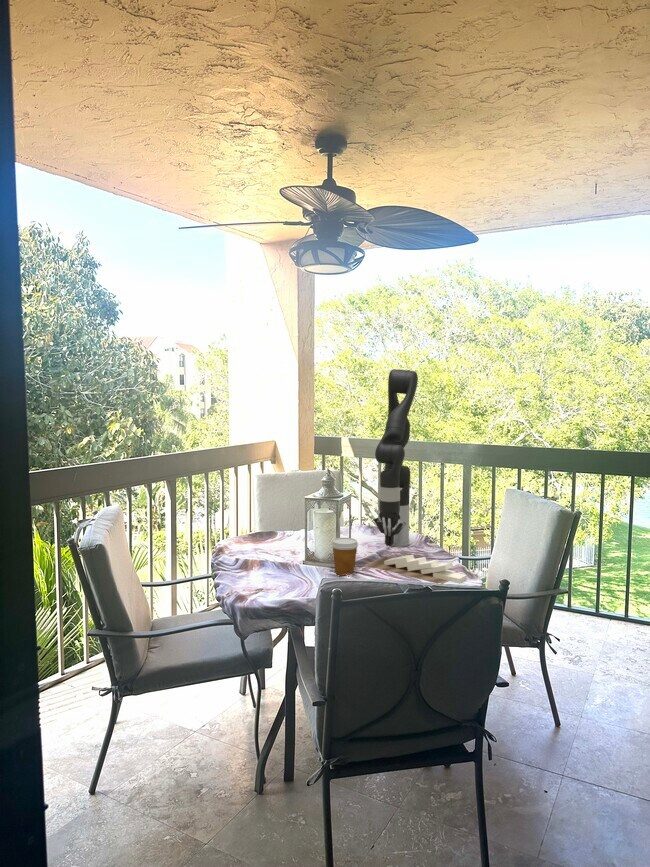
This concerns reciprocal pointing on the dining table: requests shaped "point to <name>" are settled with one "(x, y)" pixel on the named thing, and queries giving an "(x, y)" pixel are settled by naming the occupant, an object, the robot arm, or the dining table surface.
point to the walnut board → (404, 571)
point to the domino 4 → (437, 568)
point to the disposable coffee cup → (344, 555)
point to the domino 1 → (399, 560)
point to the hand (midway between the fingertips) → (389, 545)
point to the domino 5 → (450, 576)
